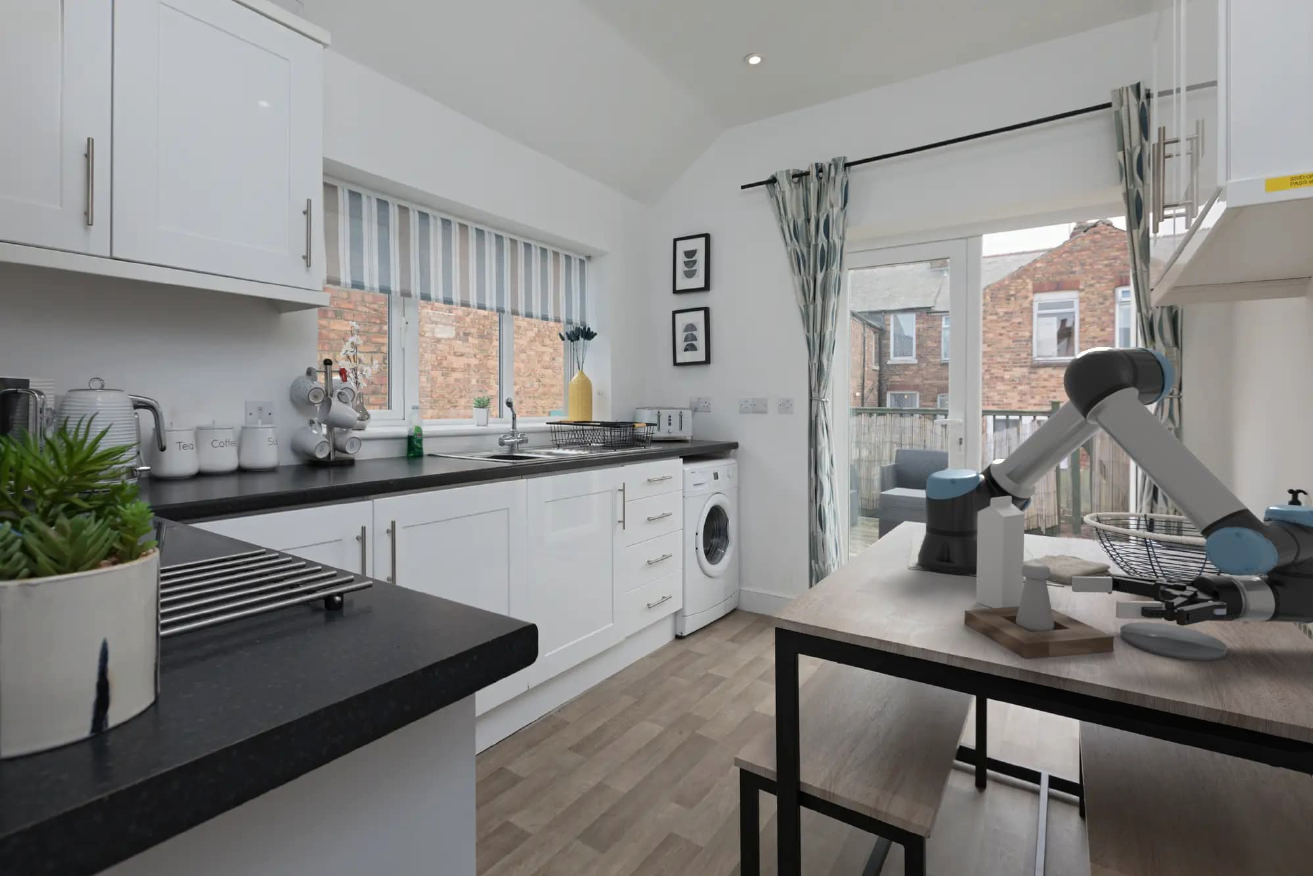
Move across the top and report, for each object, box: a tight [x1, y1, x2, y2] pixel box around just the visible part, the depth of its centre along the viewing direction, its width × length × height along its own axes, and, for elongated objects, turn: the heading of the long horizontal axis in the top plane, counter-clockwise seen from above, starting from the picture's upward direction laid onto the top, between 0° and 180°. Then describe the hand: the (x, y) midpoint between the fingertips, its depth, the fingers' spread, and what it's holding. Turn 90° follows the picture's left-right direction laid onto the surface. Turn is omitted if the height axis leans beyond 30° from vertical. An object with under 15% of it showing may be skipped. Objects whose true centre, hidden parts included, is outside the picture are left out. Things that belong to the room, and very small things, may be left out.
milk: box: [975, 496, 1026, 608], centre depth 128 cm, size 6×6×22 cm
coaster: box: [1119, 621, 1228, 662], centre depth 108 cm, size 14×14×1 cm
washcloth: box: [1023, 554, 1111, 585], centre depth 149 cm, size 12×18×3 cm, turn 118°
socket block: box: [964, 606, 1115, 660], centre depth 112 cm, size 16×16×2 cm
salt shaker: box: [1016, 562, 1054, 632], centre depth 111 cm, size 6×6×13 cm
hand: (1093, 596), depth 110 cm, fingers open, 13 cm apart
